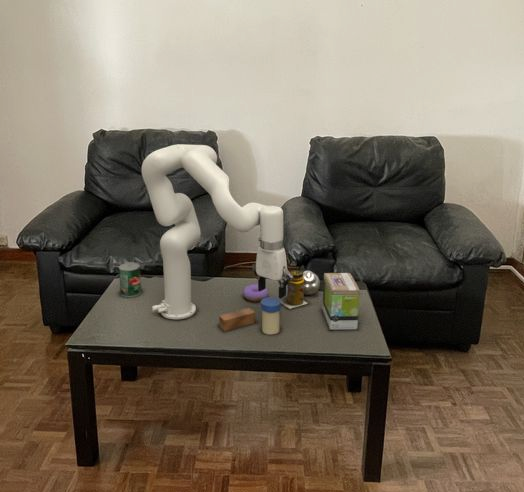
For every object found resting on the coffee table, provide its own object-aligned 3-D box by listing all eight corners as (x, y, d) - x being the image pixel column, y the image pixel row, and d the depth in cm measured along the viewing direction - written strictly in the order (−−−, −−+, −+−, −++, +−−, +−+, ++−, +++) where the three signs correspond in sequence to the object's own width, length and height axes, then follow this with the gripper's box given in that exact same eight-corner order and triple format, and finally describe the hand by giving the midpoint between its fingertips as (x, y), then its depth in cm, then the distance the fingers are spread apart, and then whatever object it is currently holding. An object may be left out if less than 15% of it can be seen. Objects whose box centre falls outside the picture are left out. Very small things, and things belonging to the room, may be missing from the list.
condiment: (308, 303, 206) (309, 273, 203) (289, 309, 201) (290, 278, 198) (296, 296, 212) (297, 267, 209) (278, 301, 207) (278, 272, 204)
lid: (267, 314, 180) (267, 308, 180) (257, 306, 186) (257, 299, 185) (284, 309, 183) (285, 303, 183) (274, 301, 189) (274, 295, 189)
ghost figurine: (292, 296, 211) (292, 272, 209) (302, 287, 219) (303, 263, 217) (313, 301, 207) (314, 277, 205) (323, 292, 215) (324, 268, 213)
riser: (224, 331, 185) (224, 320, 184) (219, 326, 189) (219, 315, 188) (255, 322, 191) (255, 312, 190) (249, 317, 195) (249, 307, 194)
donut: (237, 296, 210) (238, 284, 210) (253, 293, 217) (255, 281, 217) (256, 304, 203) (258, 292, 203) (272, 301, 210) (274, 289, 210)
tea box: (358, 329, 187) (360, 289, 184) (329, 330, 186) (330, 290, 183) (348, 309, 202) (350, 271, 198) (321, 309, 201) (322, 272, 197)
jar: (267, 336, 182) (268, 308, 180) (258, 328, 187) (258, 301, 185) (282, 331, 185) (283, 304, 183) (273, 323, 190) (273, 297, 188)
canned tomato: (139, 297, 210) (137, 270, 208) (118, 297, 210) (116, 270, 207) (142, 288, 218) (141, 262, 215) (122, 288, 218) (121, 262, 215)
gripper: (244, 241, 182) (244, 290, 186) (286, 253, 171) (286, 304, 175) (258, 235, 188) (259, 283, 191) (300, 246, 177) (299, 296, 181)
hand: (272, 293), depth 183 cm, fingers open, 8 cm apart
